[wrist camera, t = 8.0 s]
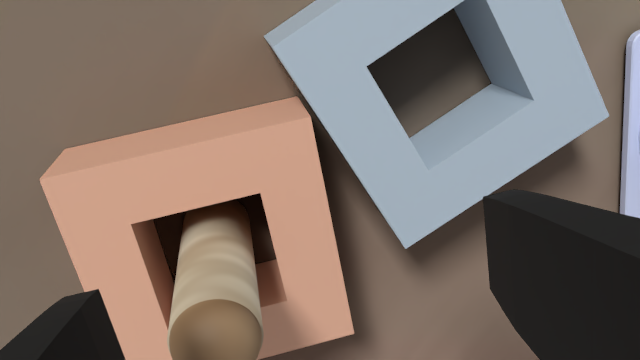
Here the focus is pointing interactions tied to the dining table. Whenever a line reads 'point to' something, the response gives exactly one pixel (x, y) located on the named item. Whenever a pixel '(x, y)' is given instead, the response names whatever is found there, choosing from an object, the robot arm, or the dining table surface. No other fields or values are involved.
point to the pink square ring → (194, 192)
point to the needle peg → (216, 287)
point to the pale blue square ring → (458, 124)
